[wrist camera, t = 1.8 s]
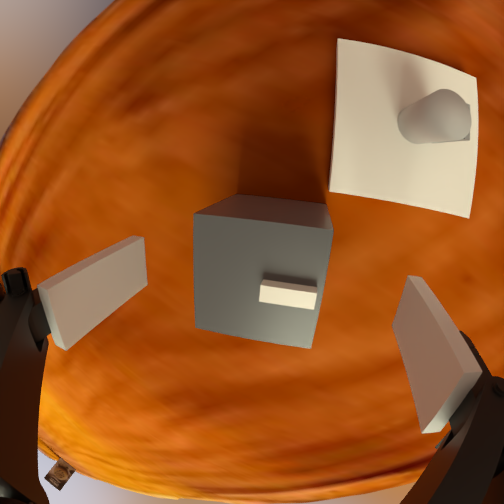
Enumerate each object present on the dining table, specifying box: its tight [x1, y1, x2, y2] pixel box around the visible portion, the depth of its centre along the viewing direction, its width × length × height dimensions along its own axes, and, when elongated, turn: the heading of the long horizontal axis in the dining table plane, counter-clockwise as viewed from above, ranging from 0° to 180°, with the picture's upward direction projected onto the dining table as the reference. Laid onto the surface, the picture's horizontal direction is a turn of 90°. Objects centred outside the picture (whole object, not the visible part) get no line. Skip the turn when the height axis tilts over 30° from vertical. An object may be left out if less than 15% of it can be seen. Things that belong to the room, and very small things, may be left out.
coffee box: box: [44, 458, 76, 491], centre depth 65 cm, size 9×6×16 cm
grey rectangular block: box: [193, 194, 334, 349], centre depth 15 cm, size 6×6×8 cm
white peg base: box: [328, 38, 478, 218], centre depth 11 cm, size 10×10×6 cm
